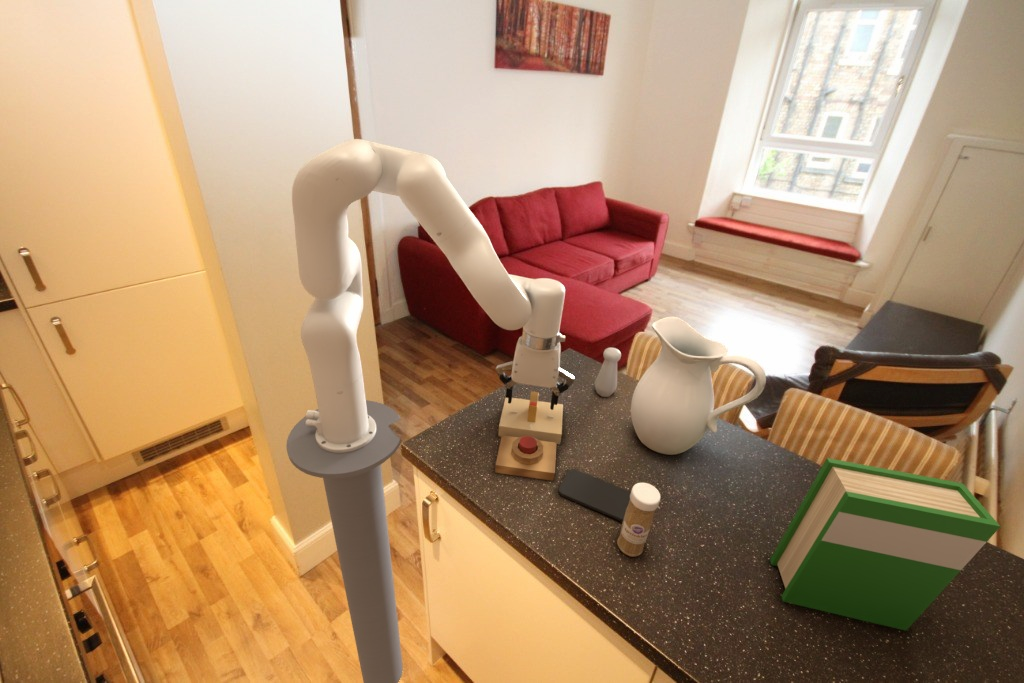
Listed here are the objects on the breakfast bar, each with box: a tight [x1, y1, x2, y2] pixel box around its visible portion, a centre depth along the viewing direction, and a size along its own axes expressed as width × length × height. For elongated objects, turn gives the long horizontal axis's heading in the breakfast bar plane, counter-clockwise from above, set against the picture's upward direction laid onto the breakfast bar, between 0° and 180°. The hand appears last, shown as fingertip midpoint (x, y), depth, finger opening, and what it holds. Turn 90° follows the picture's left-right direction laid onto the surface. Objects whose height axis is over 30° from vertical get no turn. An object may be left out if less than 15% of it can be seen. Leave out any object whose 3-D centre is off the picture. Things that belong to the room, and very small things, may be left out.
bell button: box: [519, 436, 537, 454], centre depth 92 cm, size 4×4×2 cm
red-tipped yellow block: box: [527, 391, 540, 422], centre depth 102 cm, size 6×2×5 cm, turn 173°
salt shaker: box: [594, 347, 622, 398], centre depth 115 cm, size 6×6×13 cm
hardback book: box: [769, 457, 1001, 631], centre depth 67 cm, size 18×7×24 cm, turn 78°
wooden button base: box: [494, 435, 557, 482], centre depth 93 cm, size 12×9×4 cm
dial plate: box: [497, 397, 564, 445], centre depth 104 cm, size 14×11×3 cm
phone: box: [558, 468, 631, 523], centre depth 87 cm, size 7×1×15 cm
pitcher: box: [630, 316, 767, 456], centre depth 94 cm, size 24×17×28 cm
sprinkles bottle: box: [616, 482, 662, 558], centre depth 75 cm, size 5×5×13 cm
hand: (531, 403), depth 101 cm, fingers open, 9 cm apart
